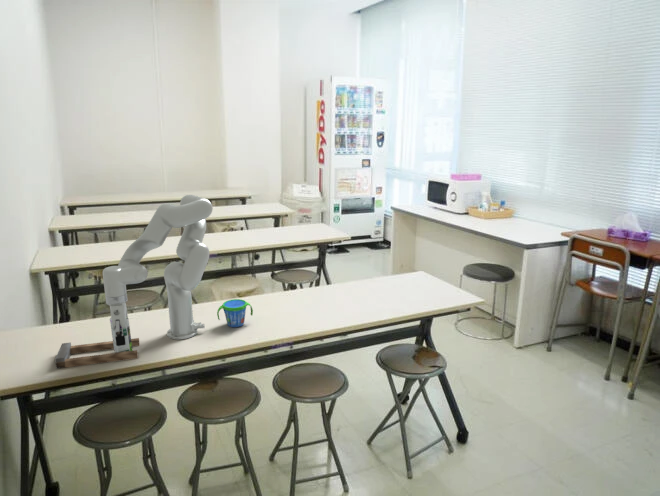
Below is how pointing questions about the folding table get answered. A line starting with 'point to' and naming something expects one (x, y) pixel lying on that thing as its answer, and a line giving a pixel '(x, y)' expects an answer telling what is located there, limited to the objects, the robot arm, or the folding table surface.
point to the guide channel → (66, 350)
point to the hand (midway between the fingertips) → (121, 340)
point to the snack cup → (235, 312)
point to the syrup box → (127, 339)
